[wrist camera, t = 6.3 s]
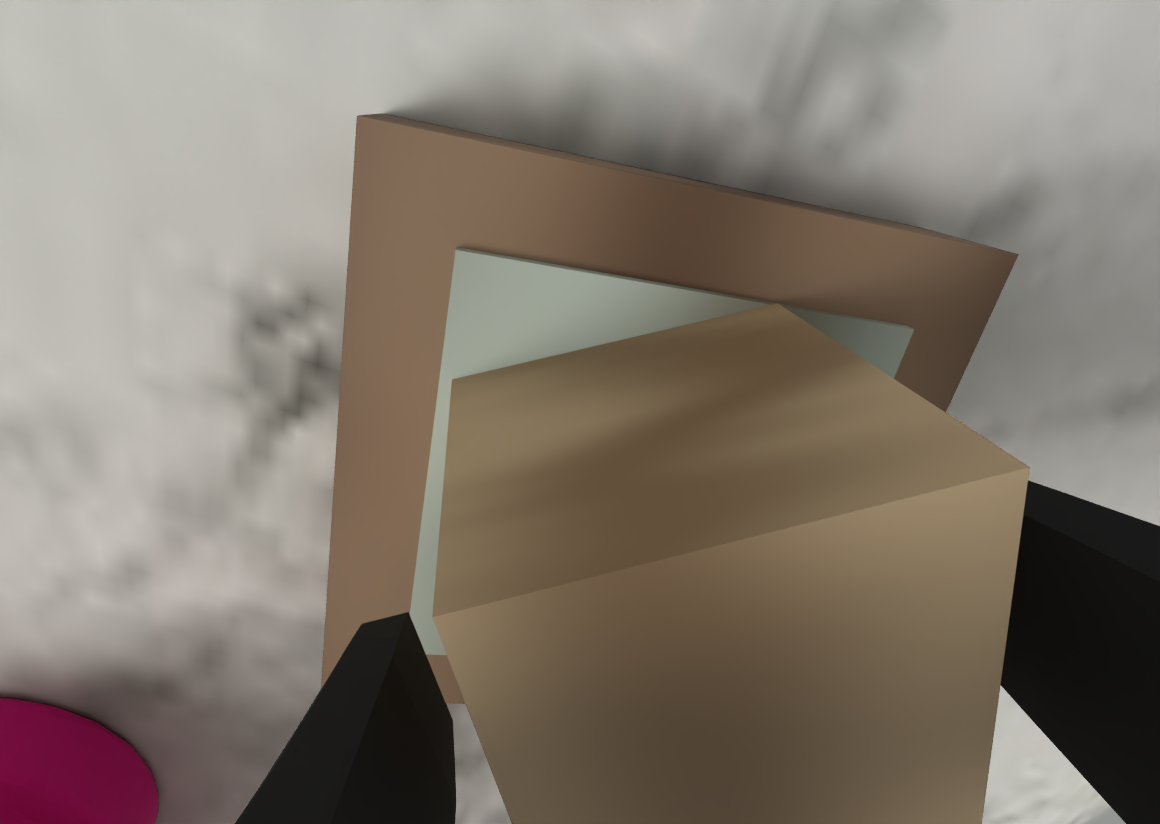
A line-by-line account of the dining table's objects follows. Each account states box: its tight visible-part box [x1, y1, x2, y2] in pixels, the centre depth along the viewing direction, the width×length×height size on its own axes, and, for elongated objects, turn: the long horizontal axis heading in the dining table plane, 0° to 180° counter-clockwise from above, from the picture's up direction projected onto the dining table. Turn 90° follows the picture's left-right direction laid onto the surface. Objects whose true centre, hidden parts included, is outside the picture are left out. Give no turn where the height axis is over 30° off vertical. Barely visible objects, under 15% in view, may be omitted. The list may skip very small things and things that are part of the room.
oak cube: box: [432, 303, 1030, 824], centre depth 9 cm, size 5×5×5 cm
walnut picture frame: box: [321, 114, 1018, 704], centre depth 12 cm, size 10×10×3 cm
